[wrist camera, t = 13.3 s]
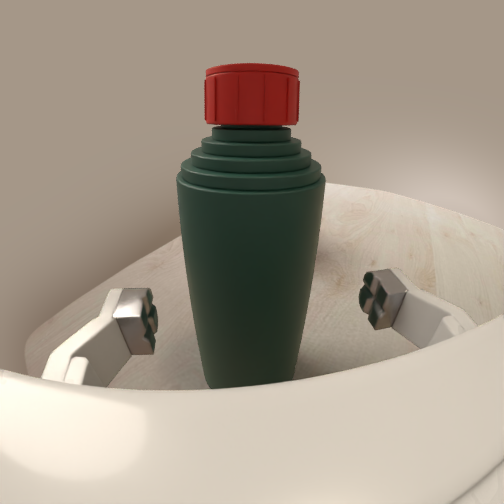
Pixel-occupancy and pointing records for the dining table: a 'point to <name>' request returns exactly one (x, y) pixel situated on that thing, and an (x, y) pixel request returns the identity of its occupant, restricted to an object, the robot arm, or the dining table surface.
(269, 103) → the cap
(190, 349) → the dining table surface
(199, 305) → the bottle
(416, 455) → the robot arm
